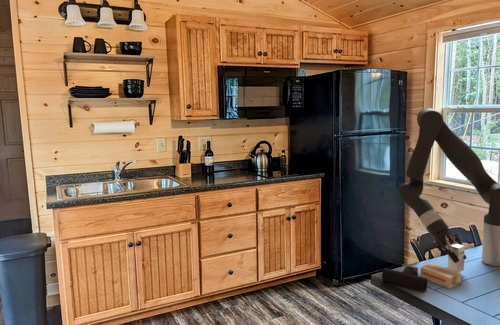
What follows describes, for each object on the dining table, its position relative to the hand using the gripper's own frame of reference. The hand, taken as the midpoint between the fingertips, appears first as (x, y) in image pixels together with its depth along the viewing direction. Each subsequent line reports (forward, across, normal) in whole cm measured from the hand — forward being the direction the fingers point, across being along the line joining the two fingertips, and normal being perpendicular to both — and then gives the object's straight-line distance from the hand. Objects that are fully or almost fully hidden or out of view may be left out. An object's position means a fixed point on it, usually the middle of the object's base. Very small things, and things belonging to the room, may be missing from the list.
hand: (460, 260), depth 147 cm
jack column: (+2, 0, +5) cm, 5 cm away
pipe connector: (0, -22, +10) cm, 24 cm away
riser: (+3, -10, +6) cm, 12 cm away
